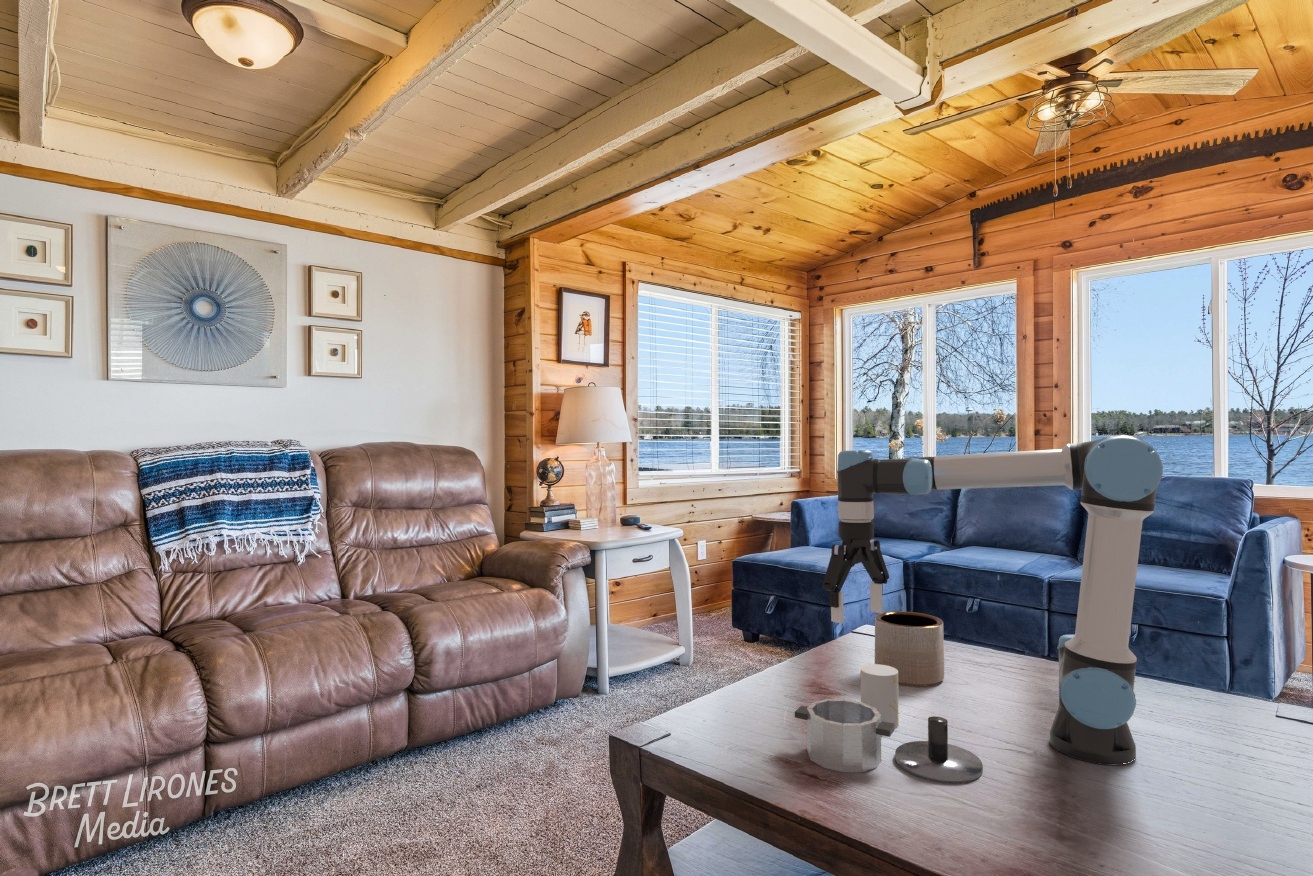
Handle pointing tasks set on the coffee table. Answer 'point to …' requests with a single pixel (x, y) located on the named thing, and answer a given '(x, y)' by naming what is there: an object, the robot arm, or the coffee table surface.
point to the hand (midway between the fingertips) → (857, 617)
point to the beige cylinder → (881, 690)
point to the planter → (911, 646)
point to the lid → (938, 757)
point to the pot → (844, 734)
